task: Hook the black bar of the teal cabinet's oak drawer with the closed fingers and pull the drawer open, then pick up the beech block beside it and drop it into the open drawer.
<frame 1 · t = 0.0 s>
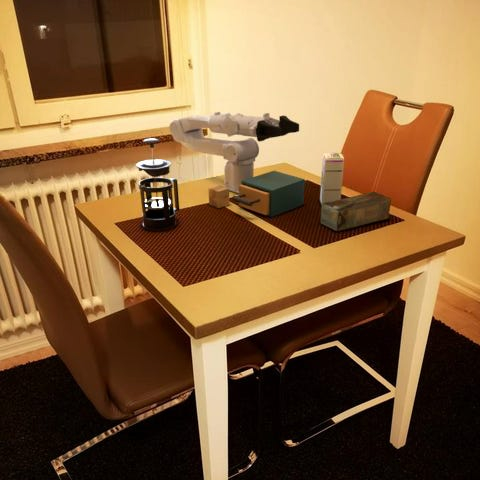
hand: (289, 129, 139), 22 cm above the table, tool horizontal, fingers open, 7 cm apart
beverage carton: (354, 222, 139), on the table
block: (219, 204, 151), on the table
syrup box: (329, 203, 152), on the table
french press: (161, 224, 138), on the table
cabinet: (272, 205, 150), on the table
drawer: (262, 196, 145), point 4 cm above the table, slide at 0.5 cm
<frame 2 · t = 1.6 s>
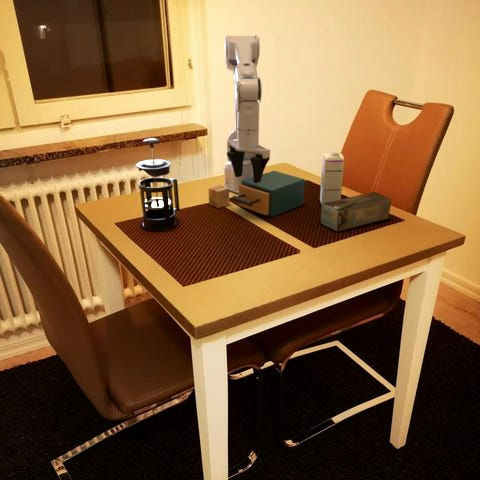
hand: (247, 179, 138), 10 cm above the table, tool pointing down, fingers open, 7 cm apart
nothing on the table moved.
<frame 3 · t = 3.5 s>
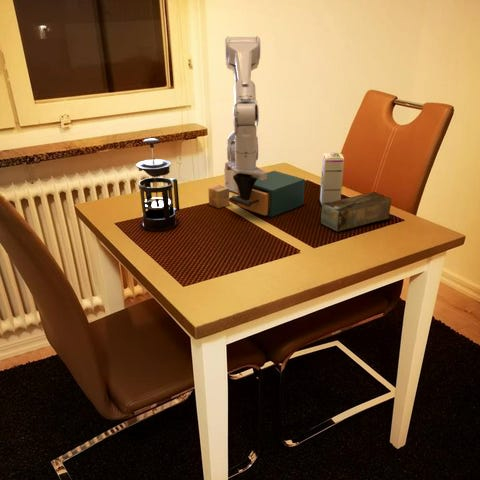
hand: (245, 199, 141), 5 cm above the table, tool pointing down, fingers closed
drawer: (261, 196, 145), point 4 cm above the table, slide at 1.0 cm
everything else where it was.
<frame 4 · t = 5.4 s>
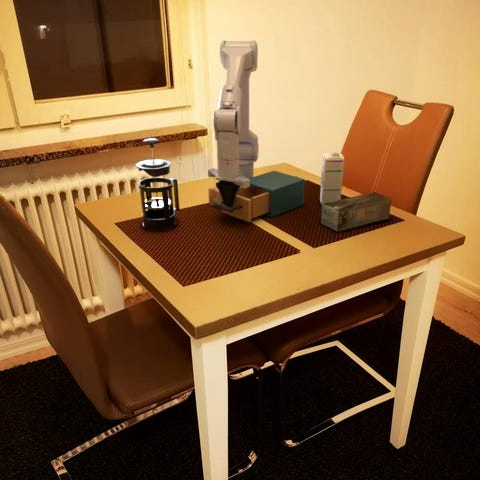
hand: (228, 207, 137), 4 cm above the table, tool pointing down, fingers closed, pressing on drawer
drawer: (245, 202, 141), point 4 cm above the table, slide at 7.7 cm, touching gripper
everything else where it was.
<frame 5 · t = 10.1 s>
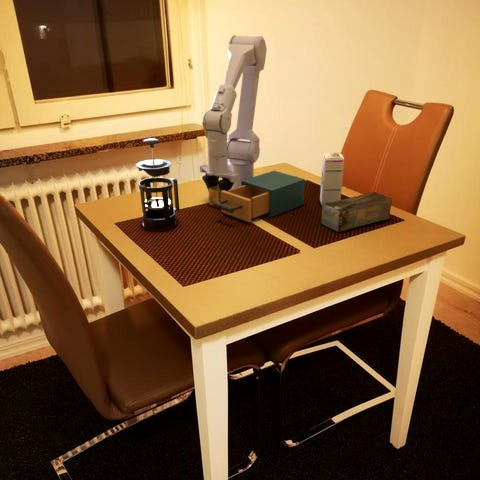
hand: (219, 200, 150), 1 cm above the table, tool pointing down, fingers closed on block, 4 cm apart
block: (219, 204, 151), on the table, touching gripper
drawer: (245, 202, 141), point 4 cm above the table, slide at 7.7 cm
everything else where it was.
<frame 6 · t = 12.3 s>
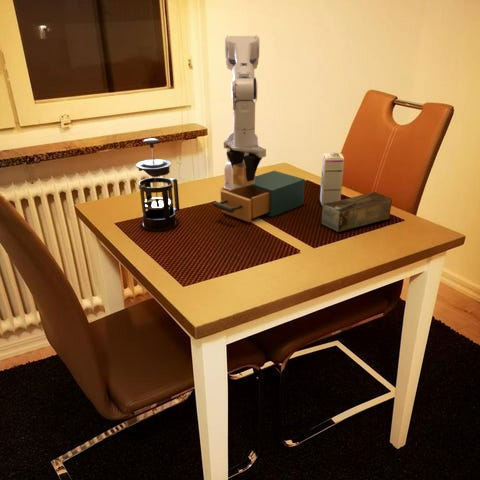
hand: (244, 178, 139), 10 cm above the table, tool pointing down, fingers closed on block, 4 cm apart
block: (244, 183, 139), point 9 cm above the table, touching gripper
everything else where it was.
when the fingers open (5 cm above the table, at t = 15.6 s): block stays where it is, resting on drawer.
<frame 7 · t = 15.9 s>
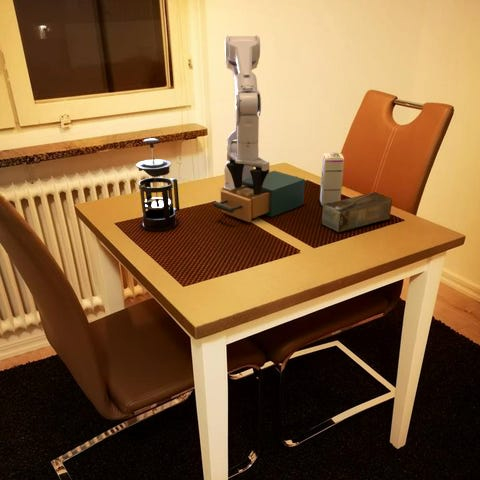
hand: (247, 190, 140), 7 cm above the table, tool pointing down, fingers open, 7 cm apart
block: (247, 208, 143), point 2 cm above the table, touching drawer
drawer: (245, 202, 141), point 4 cm above the table, slide at 7.7 cm, touching block
everything else where it was.
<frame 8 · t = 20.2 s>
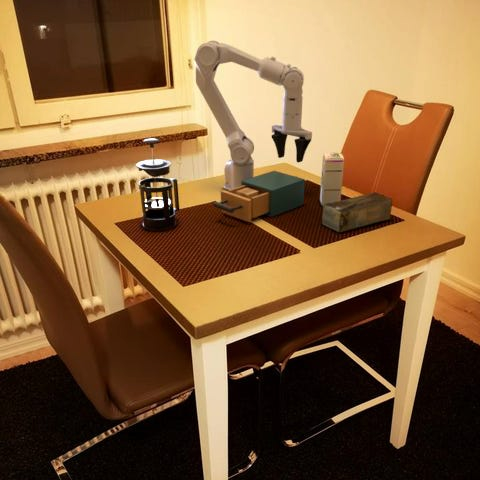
hand: (290, 159, 155), 10 cm above the table, tool pointing down, fingers open, 7 cm apart
nothing on the table moved.
at the end: drawer slide at 7.7 cm; block inside the target area in the drawer (3.0 cm from its centre), point 1.9 cm above the cabinet's base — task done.
